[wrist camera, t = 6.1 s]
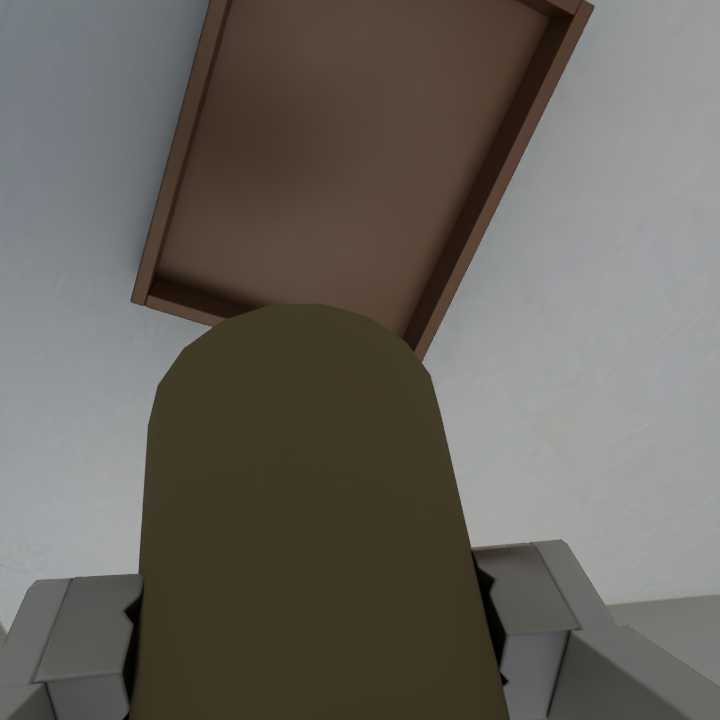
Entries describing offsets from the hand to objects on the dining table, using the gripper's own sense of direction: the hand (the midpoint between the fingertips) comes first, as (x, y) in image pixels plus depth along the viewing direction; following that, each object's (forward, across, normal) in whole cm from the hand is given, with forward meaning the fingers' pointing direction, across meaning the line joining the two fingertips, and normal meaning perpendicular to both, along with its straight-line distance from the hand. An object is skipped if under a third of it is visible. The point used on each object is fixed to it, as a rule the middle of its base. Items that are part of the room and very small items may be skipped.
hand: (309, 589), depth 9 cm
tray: (+21, -3, -3) cm, 22 cm away
